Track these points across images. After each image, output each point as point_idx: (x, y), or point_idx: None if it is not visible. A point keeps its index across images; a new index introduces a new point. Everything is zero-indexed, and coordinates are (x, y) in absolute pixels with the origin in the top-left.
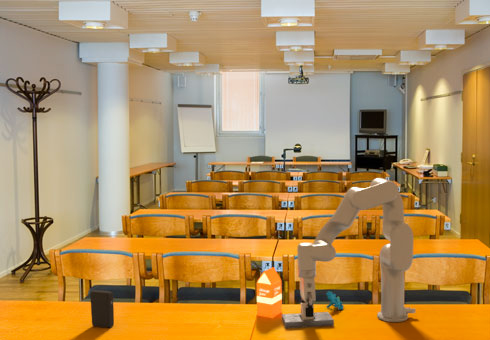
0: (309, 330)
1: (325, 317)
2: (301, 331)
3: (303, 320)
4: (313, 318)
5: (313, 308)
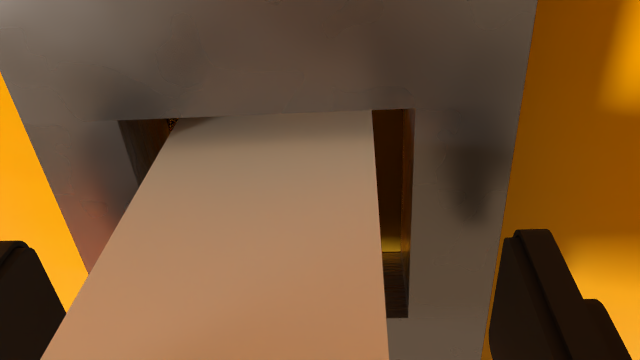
0: (618, 187)
1: None
2: (612, 278)
3: (446, 300)
4: (372, 145)
5: (382, 301)
